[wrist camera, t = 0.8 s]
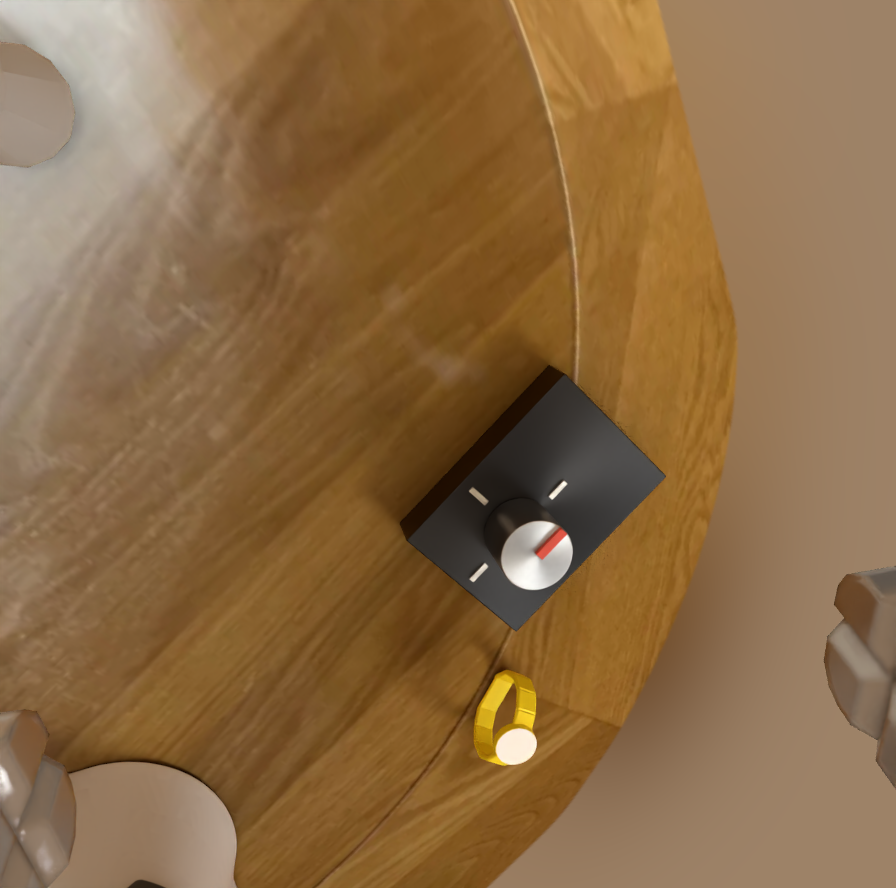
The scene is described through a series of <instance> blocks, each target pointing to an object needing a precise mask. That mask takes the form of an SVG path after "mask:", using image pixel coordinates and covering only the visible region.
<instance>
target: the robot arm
mask: <svg viewBox="0 0 896 888" xmlns="http://www.w3.org/2000/svg"><path fill="white" fill-rule="evenodd" d="M834 605H835V606H836V607H837V609H838V610H839V612H840V613H841V614H842V615H843V617H844V619H843V620H842V621H841V622H840V623H839V625H838V626H837V627H836V628H835V629H834V630H833V631H832V632H831V633H830V635H828V636H827V643H826V650H825V657H824V663H825V669H826V674H827V679H828V685H829V688H830V690H831V692H832V694H833V697H834V699H835V701H836V703H837V705H838V707H839V708H840V710H841V711H842V713H843V714H844V716H845V717H846V719H847V720H848V722H849V723H850V725H851V726H853V727H855V728H857V729H858V730H860V731H862V732H864V733H866V734H867V735H869V736H871V737H873V738H874V739H876V740H878V742H877V753H876V762H877V763H878V765H879V766H880V767H881V769H882V771H883V772H884V773H885V775H886V776H887V778H888V779H889V780H890V782H891V783H892V785H893V786H894V787H895V789H896V566H894V567H887V568H881V569H875V570H870V571H864V572H858V573H852V574H847V575H846V576H845V577H844V578H843V580H842V581H841V582H840V584H839V585H838V588H837V592H836V597H835V602H834ZM48 738H49V733H48V731H47V729H46V727H45V726H44V724H43V722H42V720H41V718H40V716H39V714H38V713H37V711H31V710H25V709H24V710H17V711H9V712H2V713H0V888H237V886H236V884H235V882H234V875H233V874H234V865H235V859H236V850H237V840H236V832H235V828H234V824H233V821H232V819H231V816H230V814H229V812H228V810H227V809H226V807H225V806H224V804H223V803H222V801H221V800H220V799H219V798H218V796H217V795H216V794H215V793H214V792H213V791H212V790H211V789H209V788H208V787H207V786H206V785H204V784H203V783H202V782H200V781H199V780H197V779H195V778H194V777H192V776H190V775H188V774H186V773H184V772H181V771H179V770H176V769H173V768H170V767H167V766H163V765H158V764H153V763H145V762H117V763H109V764H104V765H99V766H95V767H91V768H87V769H84V770H81V771H77V772H74V773H70V774H68V773H67V770H66V768H65V766H64V765H62V764H61V763H59V762H57V761H55V760H53V759H51V758H49V757H48V756H46V755H44V754H43V753H44V750H45V747H46V744H47V741H48Z"/></svg>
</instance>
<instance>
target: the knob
mask: <svg viewBox="0 0 896 888" xmlns="http://www.w3.org/2000/svg"><path fill="white" fill-rule="evenodd" d="M484 538H485V543H486V546H487V548H488V550H489V552H490V553H491V555H492V556H493V558H494V559H495V561H496V562H497V564H498V565H499V567H500V569H501V570H502V572H503V573H504V575H505V576H506V578H507V579H508V580H509V581H510V582H511V583H512V584H514V585H515V586H517V587H519V588H522V589H526V590H539V589H544V588H547V587H549V586H551V585H553V584H554V583H556V582H557V581H558V580H559V579H561V578H562V577H563V575H564V574H565V573H566V571H567V570H568V568H569V566H570V563H571V560H572V554H573V548H572V543H571V539H570V537H569V535H568V534H567V532H566V531H565V530H564V529H563V528H562V527H561V526H560V525H559V523H558V522H557V521H556V520H555V519H554V518H553V517H552V516H551V515H550V514H549V513H548V512H547V510H546V509H545V508H544V507H543V506H542V505H540V504H539V503H537V502H536V501H533V500H530V499H525V498H518V499H513V500H509V501H507V502H505V503H503V504H501V505H500V506H498V507H497V508H496V509H495V510H494V511H493V512H492V514H491V515H490V517H489V518H488V520H487V523H486V526H485V531H484Z"/></svg>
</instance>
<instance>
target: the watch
mask: <svg viewBox="0 0 896 888" xmlns="http://www.w3.org/2000/svg"><path fill="white" fill-rule="evenodd" d="M494 677H495V678H494V680H493V682H492V683H491V685H490V687H489V688H488V690H487V692H486V694H485V695H484V697H483V699H482V701H481V702H480V704H479V706H478V707H477V712H476V716H475V721H474V725H475V726H474V745H475V748H476V750H477V753H478V755H479V757H480V758H482V759H484V760H487V761H490V762H493V763H496V764H499V765H502V766H504V765H507V764H511V765H515V764H520V763H523V762H525V761H526V760H528V759H529V758H530V757H531V756H532V755H533V754H534V752H535V750H536V747H537V741H536V738H535V735H534V733H533V731H532V727H533V723H534V720H535V714H536V695H535V694H536V693H535V690H534V687H533V684H532V681H531V680H530V679H529V678H527V677H526V676H524V675H522V674H519V673H516V672H513V671H510V670H504V671H502V672H500V673H498V674H496V675H495V676H494ZM513 683H514V684H515V687H516V690H517V694H516V711H515V714H514V718H513V722H512V723H510V724H508V725H505V726H504V727H502V728H501V729H500V730H499V731H498V732H497V733H496V735H495V737H494V740H493V741H492V729H493V724H494V719H495V714H496V711H497V709H498V707H499V706H500V704H501V702H502V701H503V699H504V697H505V695H506V694H507V692H508V690H509V689H510V687H511V685H512V684H513ZM493 748H494V749H493Z"/></svg>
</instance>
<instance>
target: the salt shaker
mask: <svg viewBox="0 0 896 888" xmlns="http://www.w3.org/2000/svg"><path fill="white" fill-rule="evenodd" d="M74 117H75V110H74V105H73V101H72V96H71V92H70V88H69V85H68V83H67V82H66V81H65V79H64V78H63V77H62V75H61V74H60V73H59V72H58V70H57V69H56V68H55V66H54V65H53V64H52V62H51V61H50V60H48V59H47V58H45V57H44V56H42V55H40V54H39V53H37V52H35V51H34V50H32V49H30V48H29V47H27V46H26V45H23V44H15V43H7V42H0V164H3V165H11V166H19V167H31V166H33V165H36V164H38V163H41V162H43V161H46V160H48V159H51V158H53V157H54V156H55V155H56V154H57V152H58V151H59V150H60V149H61V148H62V147H63V146H64V145H65V144H66V143H67V142H68V141H69V139H70V137H71V132H72V127H73V122H74Z"/></svg>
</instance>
